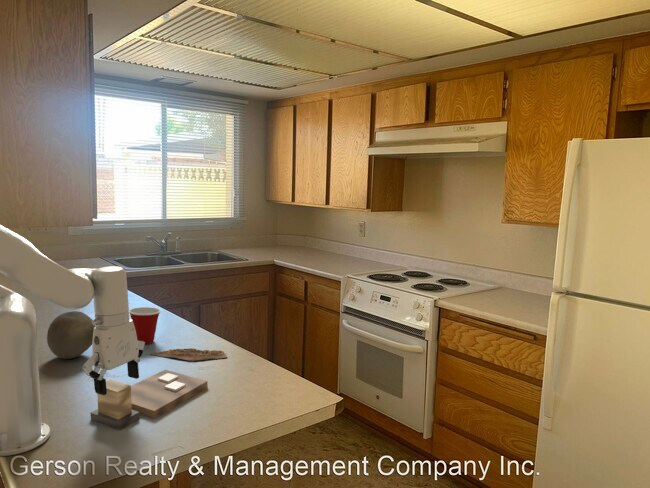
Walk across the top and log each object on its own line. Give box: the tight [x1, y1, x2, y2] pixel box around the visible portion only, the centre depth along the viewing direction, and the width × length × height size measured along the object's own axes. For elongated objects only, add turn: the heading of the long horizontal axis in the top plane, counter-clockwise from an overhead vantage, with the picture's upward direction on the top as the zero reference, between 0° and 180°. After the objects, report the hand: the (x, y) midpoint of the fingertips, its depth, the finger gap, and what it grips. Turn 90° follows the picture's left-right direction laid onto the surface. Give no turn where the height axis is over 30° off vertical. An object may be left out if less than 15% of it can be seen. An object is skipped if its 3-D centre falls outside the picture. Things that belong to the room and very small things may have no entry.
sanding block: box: [90, 379, 141, 431], centre depth 119 cm, size 6×10×9 cm, turn 64°
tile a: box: [164, 381, 186, 392], centre depth 133 cm, size 4×4×1 cm
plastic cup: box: [129, 306, 162, 346], centre depth 172 cm, size 11×11×12 cm
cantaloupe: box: [46, 310, 96, 360], centre depth 156 cm, size 14×14×15 cm
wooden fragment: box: [150, 348, 228, 362], centre depth 161 cm, size 26×11×1 cm, turn 85°
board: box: [131, 369, 208, 419], centre depth 132 cm, size 20×16×2 cm
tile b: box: [158, 373, 178, 383], centre depth 138 cm, size 4×4×1 cm
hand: (117, 385), depth 118 cm, fingers open, 9 cm apart
